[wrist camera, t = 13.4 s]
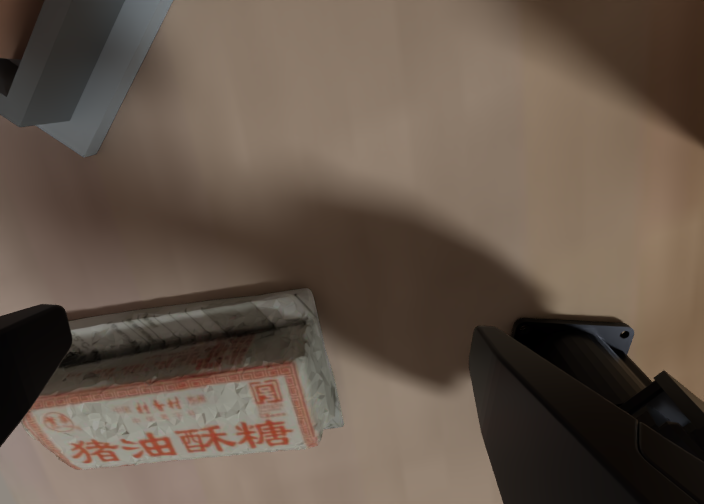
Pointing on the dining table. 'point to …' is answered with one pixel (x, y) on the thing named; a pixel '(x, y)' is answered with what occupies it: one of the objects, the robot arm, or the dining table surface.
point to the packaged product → (190, 383)
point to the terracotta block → (17, 26)
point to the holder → (79, 67)
